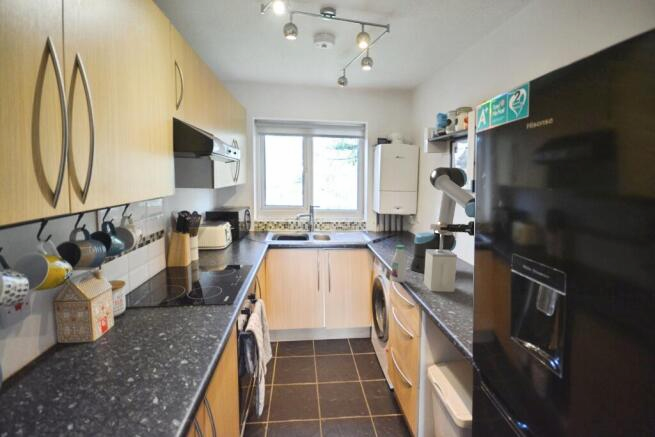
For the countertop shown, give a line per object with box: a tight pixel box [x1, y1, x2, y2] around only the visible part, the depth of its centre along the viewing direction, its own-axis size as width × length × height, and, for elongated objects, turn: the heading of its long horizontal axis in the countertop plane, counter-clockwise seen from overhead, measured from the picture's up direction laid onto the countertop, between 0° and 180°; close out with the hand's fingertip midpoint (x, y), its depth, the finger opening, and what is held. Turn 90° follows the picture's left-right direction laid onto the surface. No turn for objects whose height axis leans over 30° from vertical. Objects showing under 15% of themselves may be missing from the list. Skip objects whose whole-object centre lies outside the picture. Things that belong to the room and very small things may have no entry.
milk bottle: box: [391, 244, 407, 283], centre depth 179 cm, size 8×8×20 cm
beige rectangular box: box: [423, 249, 458, 293], centre depth 167 cm, size 16×12×19 cm
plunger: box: [437, 222, 447, 253], centre depth 167 cm, size 7×7×26 cm
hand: (432, 227), depth 166 cm, fingers closed on plunger, 4 cm apart
